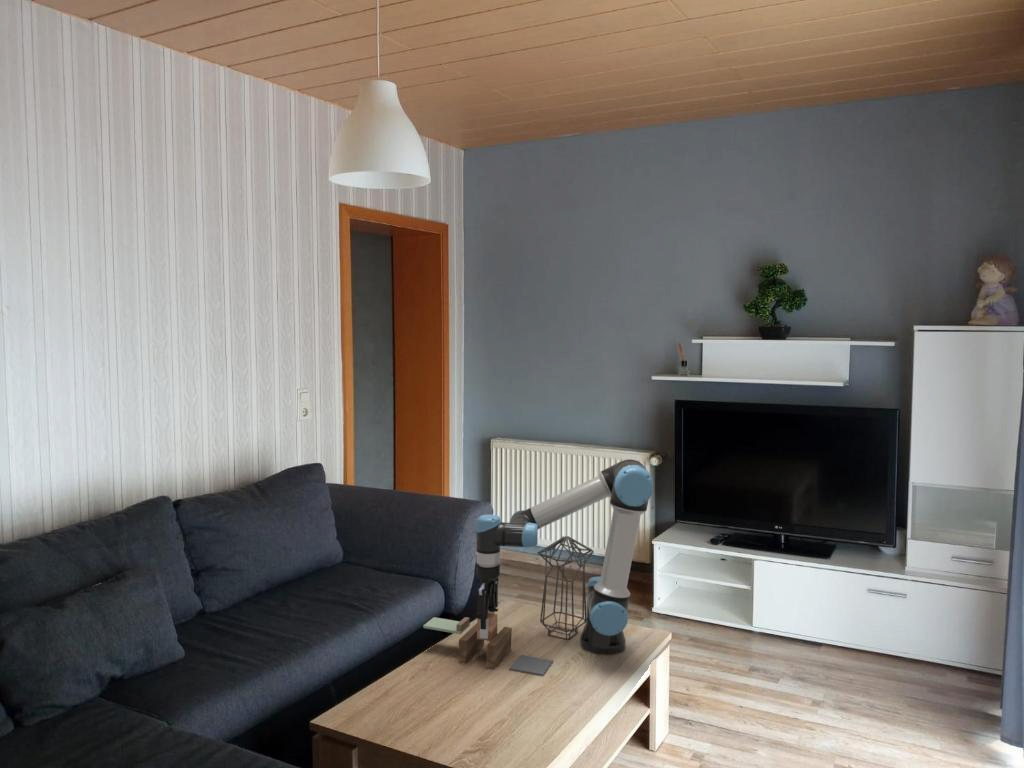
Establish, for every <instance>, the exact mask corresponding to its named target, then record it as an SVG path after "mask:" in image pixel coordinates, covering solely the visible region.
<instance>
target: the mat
mask: <svg viewBox="0 0 1024 768" xmlns="http://www.w3.org/2000/svg"><path fill="white" fill-rule="evenodd" d="M553 663H554V660H553V659H547V658H542V657H535V656H530V655H524V654H520V655H519V656H518V657H517V658H516V659H515V661H514V662H513V663H512V664H511V665H510V667H509V668H508V669H509V671H513V672H517V671H518V673H523V674H528V675H535V676H540V677H544V676H545V674H546V673H547V671H548V670H549V669H550V668H551V667H552V665H553ZM551 664H552V665H551ZM549 667H550V668H549Z"/></svg>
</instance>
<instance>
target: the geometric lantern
mask: <svg viewBox="0 0 1024 768" xmlns="http://www.w3.org/2000/svg"><path fill="white" fill-rule="evenodd" d="M578 545H579V546H581V547H582V548H581V547H579V546H578ZM559 548H560V551H559V554H558V557H557V558H555V554H556V553H557V552H558V550H559ZM563 550H565V551H566V552H568V553H569V556H568V558H567V559H561V556H562V555H561V554H562V552H563ZM571 550H572V551H571ZM577 551H578V552H579V553H578V552H577ZM582 551H586V552H585V553H583V552H582ZM548 552H549V555H548V554H547V553H548ZM594 552H595V551H594V550H593V549H591V548H590V547H588V546H586V545H584V544H583V543H581V542H579V541H578V540H576V539H574V538H573V537H571V536H569V535H563V536H561V537H560V538H559V539H558V540H556V541H554V542H553V543H550V544H549V545H547V546H546V547H544V548H542V549H541V550H539V551H538V552H536V554H537V556H540V557H541V558H542V559H543V560H544V562H545V565H544V575H545V576H544V585H543V592H542V593H543V594H542V601H541V610H540V619H539V620H540V621H539V623H540V624H541V625H542V626H544V628H545V629H547V636H549V635H550V636H549V637H553V636H554V637H553V638H557V637H559V638H558V639H561V638H563V639H562V640H565V639H569V640H571V639H572V638H573V637H575V636H576V635H577V634H578V629H579V628H580V627H582V626H583V625H585V624H586V619H587V599H586V598H587V596H586V577H585V576H586V569H585V568H586V563H588V561H589V559H590V558H591V557H592V555H593V554H594ZM573 557H574V558H575V560H573V559H574V558H573ZM548 559H549V560H548ZM551 560H554V561H555V562H556V565H553V564H552V563H551ZM582 560H584V561H583V562H582ZM558 562H564V563H563V564H559V563H558ZM572 563H576V564H577V566H578V569H574V568H570V567H565V566H567V565H569V564H572ZM548 565H549V567H551V568H550V569H549V570H548V571H547V566H548ZM581 568H582V570H580V569H581ZM556 569H557V571H556V577H555V576H551V575H550V573H551V572H552V571H553V570H556ZM565 569H566V570H570V571H571V570H572V571H575V572H576V573H575V575H574V577H573V578H572V580H571V579H570V580H568V579H567V577H566V576H565ZM559 572H560V573H561V577H562V578H559ZM579 572H580V573H582V574H581V575H579V576H578V577H576V576H577V574H579ZM581 577H582V608H581V609H582V615H581V616H578V615H576V614H575V615H574V610H575V609H574V581H576V580H578V579H580V578H581ZM548 578H552V579H554V580H556V581H555V592H554V593H555V594H554V600H553V601H554V602H553V612H552V613H549V615H547V616H546V600H547V599H546V598H547V597H546V596H547V585H548V582H547V581H548ZM559 581H561V592H560V595H561V596H560V611H556V605H557V604H556V603H557V594H558V586H559V585H558V584H559V583H558V582H559ZM564 582H566V584H565V611H563V600H564V599H563V597H564ZM569 583H571V614H570V613H568V589H569ZM555 614H559V616H558V620H557V617H556V615H555ZM561 615H565V617H564V622H561V621H560V620H561ZM551 616H553V617H554V620H555V622H554V623H553V624H551V625H550V624H547V623H545V620H546V619H548V618H550V617H551ZM567 616H569V617H571V623H568V621H567V620H568V617H567ZM575 618H577V619H580V620H579V621H578V622H577V624H576V625H575ZM582 620H583V622H582ZM581 622H582V623H581ZM560 624H562V625H564V627H561V626H560ZM554 625H555V626H554ZM557 625H558V626H557ZM567 626H571V627H572V629H569V628H567ZM561 628H564V629H561ZM554 629H555V630H554ZM567 629H568V630H567ZM551 631H552V632H553V633H554V632H555V633H558V634H561V635H564V636H565V638H564V637H560V636H557V635H553V634H551V633H552V632H551ZM560 631H561V632H560ZM574 631H575V633H574V634H573V635H572V636H571V633H573V632H574ZM550 632H551V633H550ZM575 634H576V635H575ZM570 638H571V639H570Z"/></svg>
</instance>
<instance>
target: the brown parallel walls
mask: <svg viewBox="0 0 1024 768" xmlns="http://www.w3.org/2000/svg"><path fill="white" fill-rule="evenodd" d="M512 630H513V628H512V627H509V626H503V627H502V629H501V630H499V632H497V635H496V636H495V637H494V638H493V639H492V640H491V641H488V643H487V644H486V669H489V668H490V669H491V670H495V669H496V668H497V667H498V666H499V664H500V663H501V662H502V661H503V660H504V659H505V658H506V656H508V654H509V653H510V652H511V651H512V637H513V636H512V633H513V631H512ZM484 646H485V640H480V639H477V622H476V623H475V624H474V625H473V626H472V627H470V629H469V630H468V631H466V632H465V634H463V635H462V636H461V637H460V638H459V639H458V654H457V655H458V656H457V657H458V660H457V661H458V662H457V663H459V664H462V663H464V665H466V664H468V662H469V661H470V660H471V659H472V658H473V657H474V656H475V655H476V654H477V653H478V652H479V651H480V650H481V649H482V648H483V647H484ZM495 667H496V668H495Z"/></svg>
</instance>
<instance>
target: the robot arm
mask: <svg viewBox="0 0 1024 768" xmlns="http://www.w3.org/2000/svg"><path fill="white" fill-rule="evenodd" d="M653 492H654V481H653V478H652V476H651V474H650V472H649V471H648V470H647V468H646V466H644V464H643V463H642V462H640V461H638V460H635V459H623V460H621V461H619V462H616V463H615V464H613V465H611V466H608V467H606V468H605V469H602V470H601V471H599V474H598V475H597V476H595V477H594V478H591V479H588V480H587V481H585V482H582V483H581V484H578V485H575V486H574V487H571V488H569V489H568V490H565V491H563V492H561V493H559V494H557V495H555V496H553V497H550V498H548V499H546V500H544V501H541V502H540V503H538V504H535V505H533V506H532V507H529V508H526V509H524V510H521V509H519V510H516V511H515V512H514V513H513V514H512V515H511V517H510V519H509V522H503V521H502V520H501V517H500V516H499V515H497V514H490V513H489V514H483V515H480V516H478V518H477V520H476V533H475V534H476V552H475V554H474V555H475V556H476V564H475V565H476V566H475V567H476V568H475V569H476V571H475V573H476V574H475V575H476V577H477V578H479V579H480V582H479V587H478V588H477V589H476V596H477V597H476V599H477V601H476V603H477V604H476V620H477V619H480V638H483V639H488V630H489V618H488V613H491V614H496V613H498V611H499V608H498V607H499V605H498V604H499V603H498V601H499V600H498V599H499V580H500V579H499V577H500V574H501V573H500V572H501V569H500V568H501V566H500V565H501V564H500V563H501V547H511V548H515V547H516V548H536V547H537V546H538V544H539V543H538V542H539V541H538V540H539V539H538V538H539V537H538V534H539V532H538V531H539V530H540V529H542V528H543V527H545V526H546V527H547V526H549V525H550V524H552V523H555V522H556V521H559V520H561V519H563V518H565V517H568V516H570V515H572V514H574V513H576V512H578V511H581V510H583V509H585V508H587V507H589V506H591V505H593V504H595V503H598V502H600V501H602V500H605V499H607V498H610V500H609V504H610V505H611V507H612V509H613V511H612V515H611V520H610V521H611V522H610V528H609V531H608V532H609V533H608V537H607V543H606V546H605V553H604V558H603V565H602V568H601V574H600V576H592V577H590V578H589V579H588V581H587V596H586V598H587V599H586V623H585V624H584V626H583V629H582V631H581V635H580V638H579V641H580V642H579V645H580V647H581V648H582V649H584V650H586V651H588V652H591V653H594V654H600V655H614V654H619V653H621V652H623V651H624V650H625V649H626V643H627V642H626V641H627V640H626V637H625V633H624V630H625V628H626V627H627V625H628V620H629V615H628V610H629V609H628V608H629V604H630V598H631V592H630V590H629V589H628V584H629V583H628V582H629V579H630V578H629V576H630V573H631V567H632V562H633V561H632V560H633V557H634V551H635V547H636V541H637V537H638V536H637V535H638V530H639V526H640V521H641V520H640V519H641V516H642V515H643V514H645V513H646V512H647V510H648V504H649V500H650V499H651V497H652V495H653Z"/></svg>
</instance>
